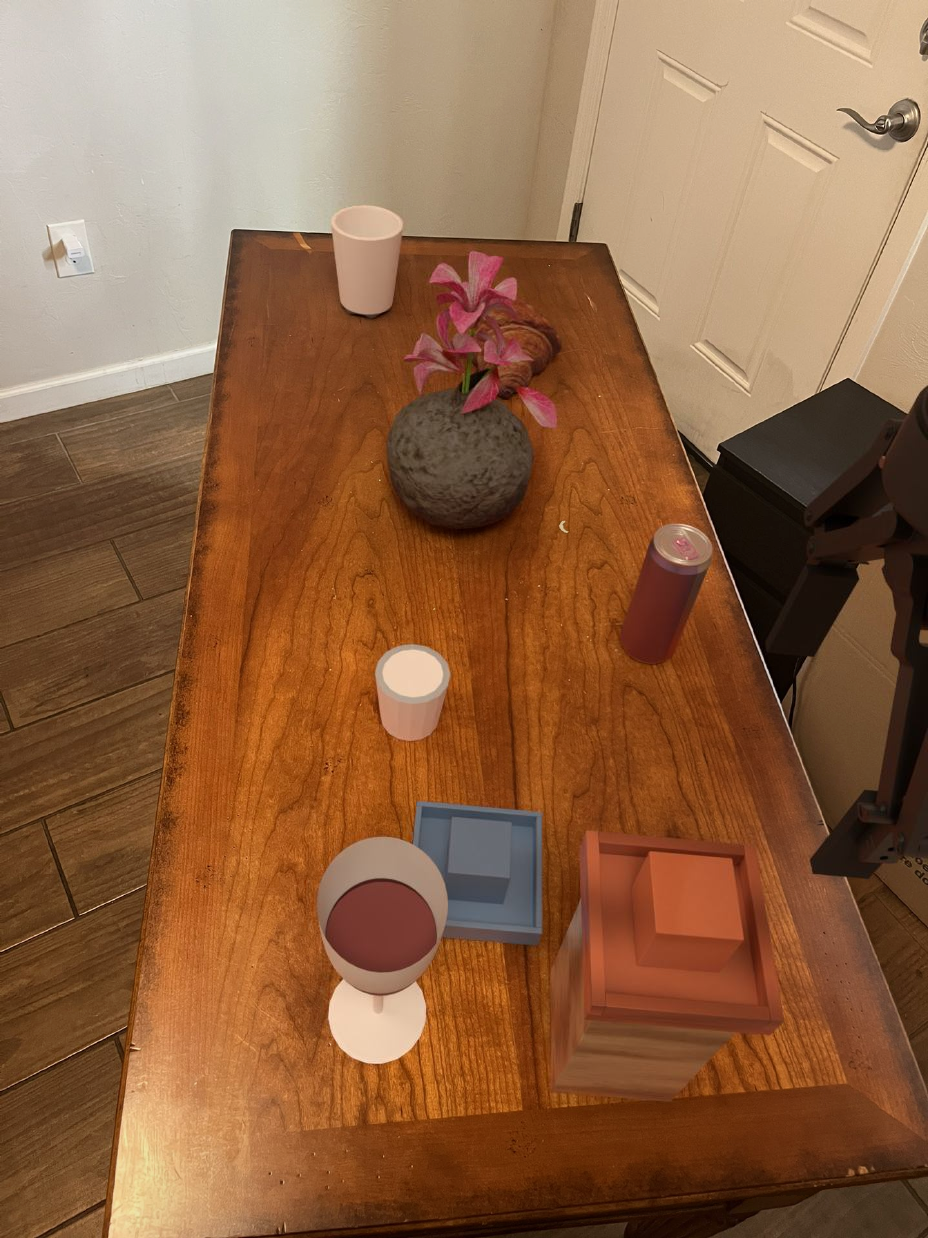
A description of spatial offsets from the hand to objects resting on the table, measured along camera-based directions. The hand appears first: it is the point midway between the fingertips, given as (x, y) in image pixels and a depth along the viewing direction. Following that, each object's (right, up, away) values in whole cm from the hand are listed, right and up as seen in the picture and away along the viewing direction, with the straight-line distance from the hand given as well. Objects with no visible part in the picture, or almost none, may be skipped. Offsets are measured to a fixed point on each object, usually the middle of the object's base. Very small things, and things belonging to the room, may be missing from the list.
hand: (811, 750), depth 50 cm
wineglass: (-25, -24, +23) cm, 41 cm away
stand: (-7, -25, +23) cm, 35 cm away
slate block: (-17, -15, +31) cm, 38 cm away
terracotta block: (-5, -12, +8) cm, 16 cm away
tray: (-17, -15, +31) cm, 39 cm away
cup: (-33, +53, +88) cm, 108 cm away
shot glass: (-24, -3, +41) cm, 48 cm away
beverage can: (+1, +4, +50) cm, 50 cm away
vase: (-19, +20, +62) cm, 68 cm away
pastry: (-12, +44, +83) cm, 95 cm away
